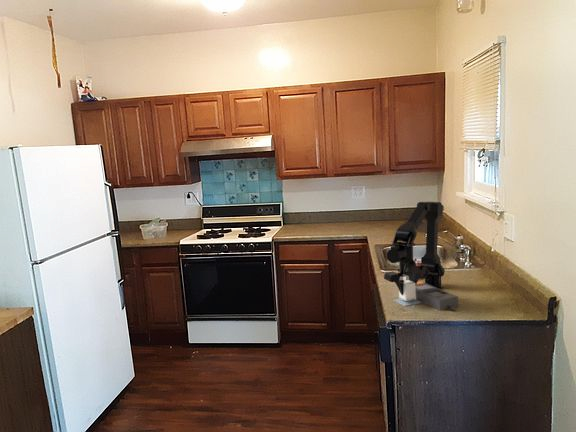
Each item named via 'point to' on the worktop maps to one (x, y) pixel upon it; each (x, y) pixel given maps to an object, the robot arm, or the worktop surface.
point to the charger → (408, 291)
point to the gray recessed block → (435, 297)
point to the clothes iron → (422, 227)
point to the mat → (407, 302)
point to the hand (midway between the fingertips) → (407, 293)
